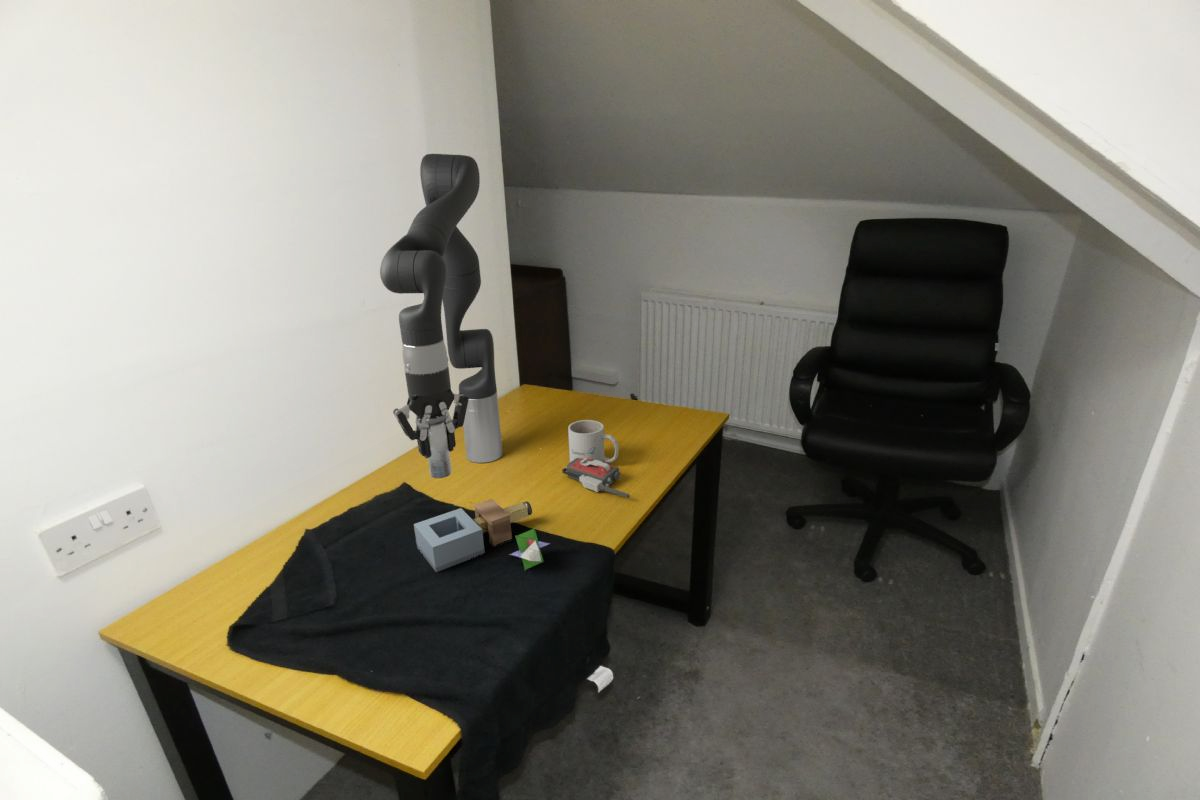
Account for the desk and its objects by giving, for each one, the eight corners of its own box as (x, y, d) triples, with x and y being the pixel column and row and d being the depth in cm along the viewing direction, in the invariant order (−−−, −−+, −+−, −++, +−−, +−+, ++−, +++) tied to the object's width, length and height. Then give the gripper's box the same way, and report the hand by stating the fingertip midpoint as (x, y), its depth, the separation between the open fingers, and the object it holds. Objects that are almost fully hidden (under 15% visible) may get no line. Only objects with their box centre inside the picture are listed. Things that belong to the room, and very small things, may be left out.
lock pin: (474, 529, 133) (473, 517, 132) (525, 511, 140) (524, 498, 138) (480, 536, 131) (479, 523, 130) (532, 517, 137) (531, 504, 136)
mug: (563, 467, 162) (561, 430, 158) (581, 453, 169) (579, 417, 165) (607, 477, 156) (606, 439, 152) (623, 463, 163) (623, 426, 159)
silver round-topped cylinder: (424, 472, 124) (415, 413, 120) (448, 465, 127) (440, 407, 122) (433, 481, 120) (425, 421, 116) (458, 474, 123) (450, 415, 118)
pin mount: (477, 529, 137) (474, 504, 135) (494, 522, 139) (491, 498, 137) (494, 546, 131) (491, 521, 128) (511, 539, 133) (509, 515, 130)
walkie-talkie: (556, 479, 155) (626, 504, 144) (554, 463, 154) (626, 486, 143) (578, 463, 162) (647, 486, 151) (577, 448, 160) (647, 469, 149)
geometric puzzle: (500, 548, 126) (510, 530, 120) (530, 535, 130) (541, 517, 124) (517, 580, 124) (528, 564, 118) (548, 566, 127) (560, 550, 121)
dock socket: (417, 547, 131) (413, 524, 129) (463, 531, 136) (461, 508, 134) (436, 572, 123) (432, 547, 121) (484, 553, 128) (482, 529, 126)
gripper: (455, 352, 122) (465, 436, 129) (379, 368, 115) (393, 456, 121) (472, 362, 116) (481, 449, 123) (393, 379, 109) (407, 471, 115)
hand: (437, 452), depth 122 cm, fingers closed on silver round-topped cylinder, 4 cm apart
